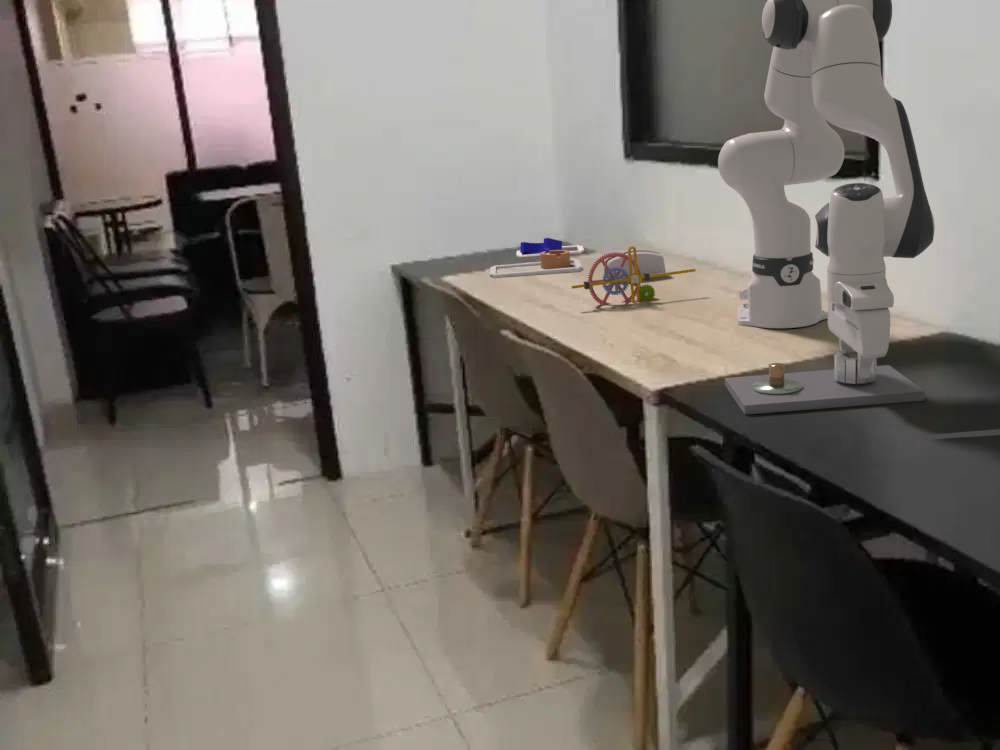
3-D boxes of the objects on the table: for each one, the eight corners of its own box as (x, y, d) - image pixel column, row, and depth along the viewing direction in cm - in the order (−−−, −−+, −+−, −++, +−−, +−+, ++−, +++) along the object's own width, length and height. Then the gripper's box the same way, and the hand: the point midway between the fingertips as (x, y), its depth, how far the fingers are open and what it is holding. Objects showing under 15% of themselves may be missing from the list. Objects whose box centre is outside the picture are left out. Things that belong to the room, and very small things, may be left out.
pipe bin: (491, 279, 300) (490, 265, 299) (579, 272, 299) (578, 258, 298) (490, 289, 286) (489, 275, 284) (583, 282, 285) (582, 267, 284)
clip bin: (517, 263, 325) (516, 250, 323) (582, 257, 324) (581, 244, 323) (517, 269, 313) (516, 256, 312) (585, 264, 312) (584, 250, 311)
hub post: (747, 383, 176) (746, 360, 175) (795, 379, 176) (794, 356, 175) (758, 396, 169) (757, 373, 168) (808, 392, 168) (807, 369, 167)
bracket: (575, 276, 292) (574, 252, 291) (548, 280, 290) (547, 255, 288) (548, 268, 309) (547, 245, 307) (522, 272, 306) (521, 248, 304)
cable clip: (534, 260, 322) (519, 257, 318) (535, 245, 322) (520, 242, 318) (561, 256, 312) (546, 252, 308) (562, 241, 313) (547, 237, 309)
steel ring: (829, 374, 175) (829, 351, 174) (868, 371, 175) (868, 348, 174) (841, 385, 169) (841, 361, 168) (881, 381, 169) (881, 357, 168)
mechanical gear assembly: (575, 318, 242) (570, 254, 238) (570, 315, 246) (565, 252, 242) (697, 302, 247) (695, 239, 243) (691, 299, 251) (688, 237, 247)
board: (724, 386, 181) (724, 378, 180) (888, 373, 180) (888, 365, 179) (744, 414, 165) (744, 405, 165) (924, 400, 164) (924, 391, 164)
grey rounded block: (662, 281, 276) (661, 244, 272) (667, 286, 271) (667, 249, 268) (600, 289, 273) (599, 252, 270) (605, 294, 269) (604, 256, 265)
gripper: (818, 277, 178) (818, 355, 182) (856, 302, 158) (855, 389, 162) (855, 274, 178) (855, 353, 181) (898, 298, 158) (896, 386, 162)
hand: (855, 370), depth 172 cm, fingers closed on steel ring, 6 cm apart
